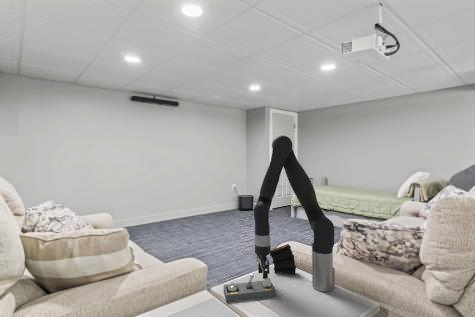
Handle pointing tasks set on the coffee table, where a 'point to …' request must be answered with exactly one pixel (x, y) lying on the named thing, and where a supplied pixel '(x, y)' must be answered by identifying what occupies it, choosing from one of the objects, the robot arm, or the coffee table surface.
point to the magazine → (283, 260)
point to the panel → (250, 291)
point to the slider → (266, 282)
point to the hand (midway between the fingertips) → (262, 276)
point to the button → (232, 288)
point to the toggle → (251, 278)
